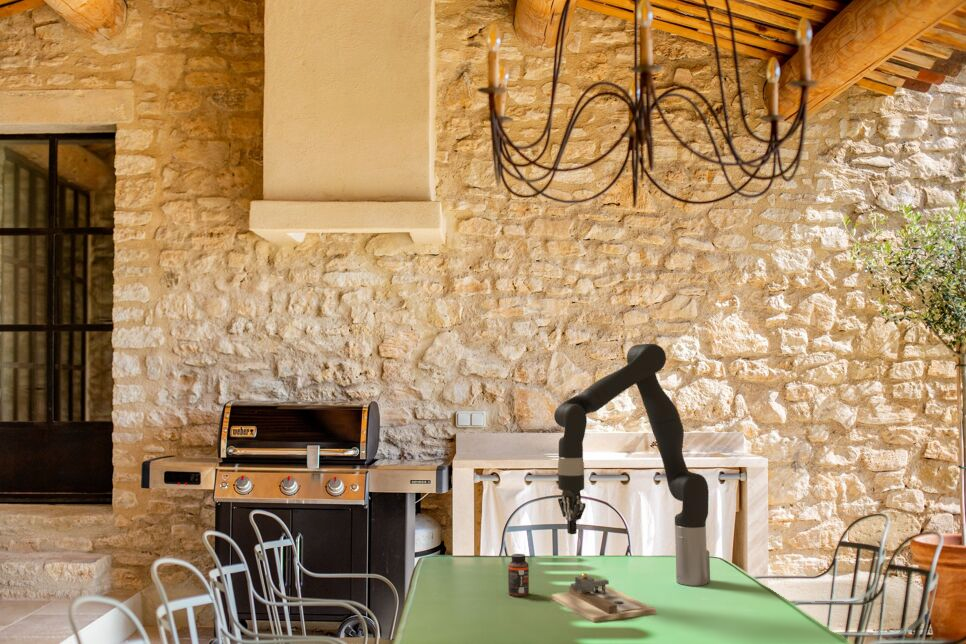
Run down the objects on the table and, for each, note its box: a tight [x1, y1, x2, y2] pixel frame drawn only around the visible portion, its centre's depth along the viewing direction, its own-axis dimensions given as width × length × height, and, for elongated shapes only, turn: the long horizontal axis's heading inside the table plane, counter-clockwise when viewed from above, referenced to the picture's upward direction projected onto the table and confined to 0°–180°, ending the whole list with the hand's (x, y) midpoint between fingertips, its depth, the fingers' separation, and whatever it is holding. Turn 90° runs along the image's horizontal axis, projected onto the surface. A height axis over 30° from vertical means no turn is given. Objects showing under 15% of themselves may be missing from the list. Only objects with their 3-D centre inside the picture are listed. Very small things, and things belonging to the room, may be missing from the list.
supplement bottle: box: [507, 553, 530, 598], centre depth 232 cm, size 6×6×11 cm
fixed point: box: [570, 582, 602, 592], centre depth 227 cm, size 9×2×3 cm, turn 112°
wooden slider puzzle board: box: [550, 585, 657, 623], centre depth 219 cm, size 19×24×3 cm
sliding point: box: [574, 573, 610, 595], centre depth 223 cm, size 9×4×6 cm, turn 112°
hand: (571, 533), depth 229 cm, fingers closed
